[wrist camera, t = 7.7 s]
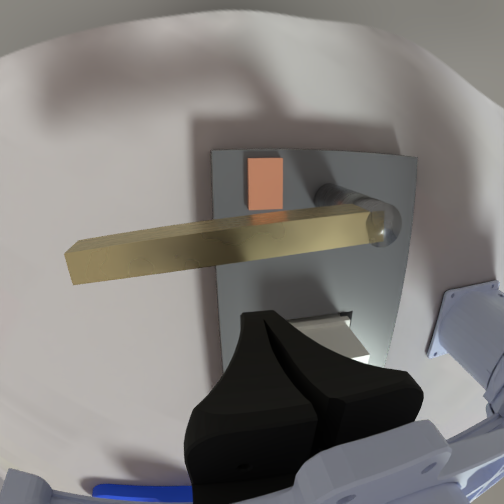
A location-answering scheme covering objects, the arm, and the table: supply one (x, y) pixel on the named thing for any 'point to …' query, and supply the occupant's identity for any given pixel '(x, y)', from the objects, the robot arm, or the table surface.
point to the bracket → (144, 493)
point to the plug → (332, 334)
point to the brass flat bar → (238, 238)
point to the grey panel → (318, 262)
